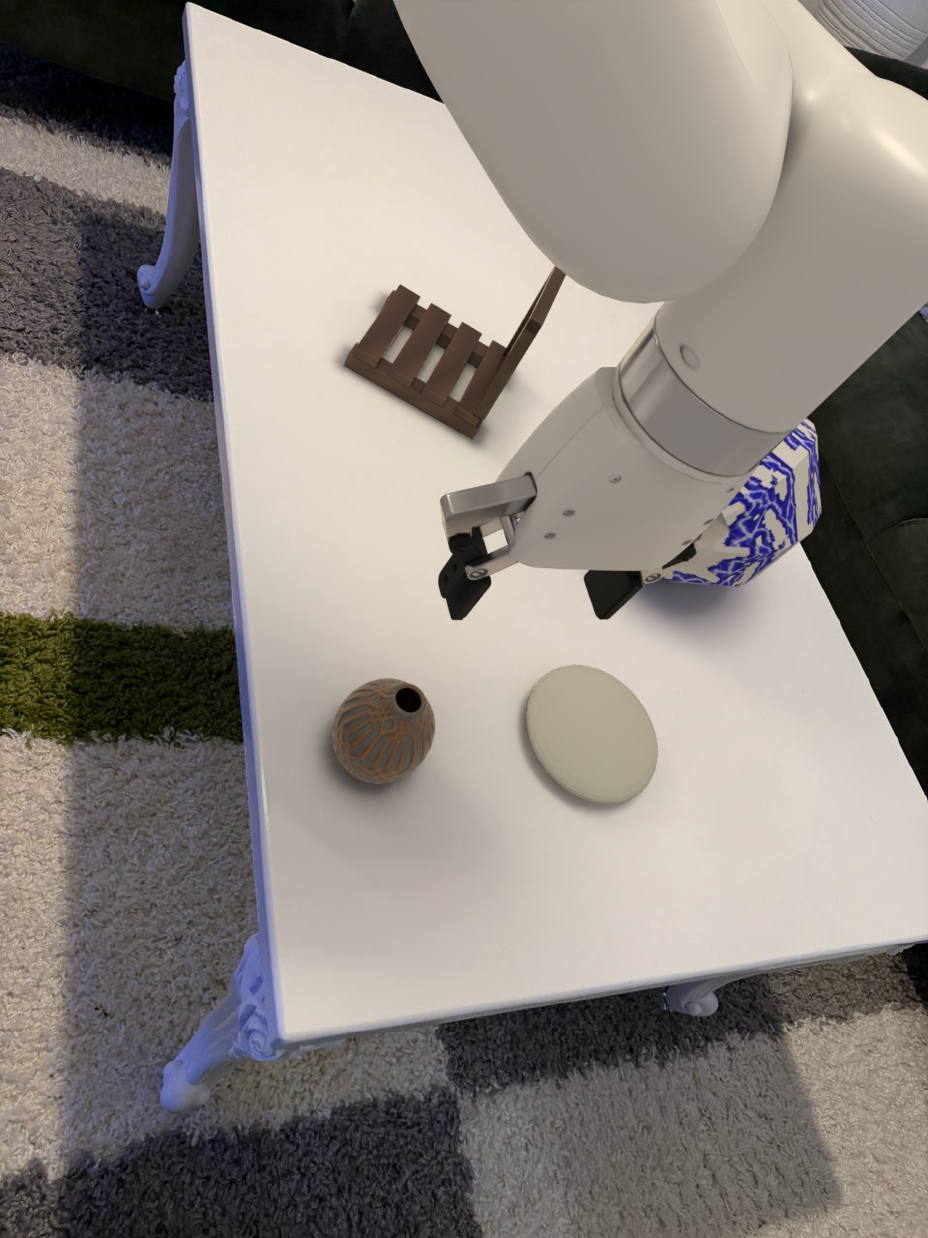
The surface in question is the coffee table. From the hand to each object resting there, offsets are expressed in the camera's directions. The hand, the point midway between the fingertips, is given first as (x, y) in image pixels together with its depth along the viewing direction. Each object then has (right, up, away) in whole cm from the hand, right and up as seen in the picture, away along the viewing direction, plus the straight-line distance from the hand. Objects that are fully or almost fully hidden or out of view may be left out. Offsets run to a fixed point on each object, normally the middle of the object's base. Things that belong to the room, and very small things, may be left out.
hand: (525, 598), depth 51 cm
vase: (-11, -11, +13) cm, 20 cm away
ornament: (+16, +7, +38) cm, 42 cm away
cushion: (+6, -11, +22) cm, 25 cm away
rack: (-7, +24, +37) cm, 45 cm away
